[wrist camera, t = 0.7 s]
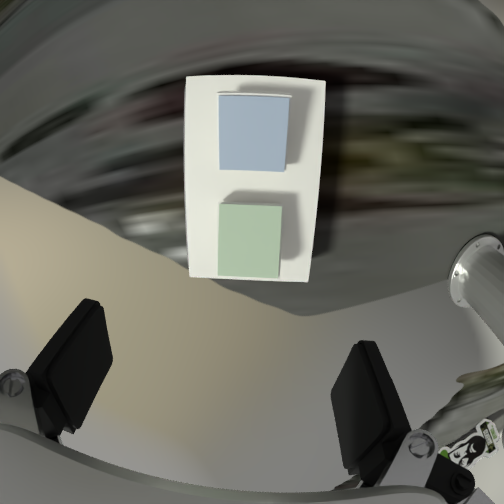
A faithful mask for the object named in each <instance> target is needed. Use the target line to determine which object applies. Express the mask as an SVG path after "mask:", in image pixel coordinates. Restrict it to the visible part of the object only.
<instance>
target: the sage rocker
mask: <svg viewBox="0 0 504 504" xmlns="http://www.w3.org/2000/svg"><path fill="white" fill-rule="evenodd" d="M283 212H284V204H272V203H249V202H218V210H217V248H216V277H236V278H258V279H280V267H281V250H282V232H283Z"/></svg>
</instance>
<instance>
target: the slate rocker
mask: <svg viewBox="0 0 504 504" xmlns="http://www.w3.org/2000/svg"><path fill="white" fill-rule="evenodd" d="M291 99H292V95H291V94H290V93H281V92H262V91H219V92H218V93H217V152H218V170H236V171H264V172H283V173H286V166H287V154H288V141H289V128H290V114H291Z"/></svg>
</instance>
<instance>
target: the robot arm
mask: <svg viewBox="0 0 504 504" xmlns="http://www.w3.org/2000/svg"><path fill="white" fill-rule="evenodd" d="M448 292H449V295H450V297H451V299H452V300H453V301H454V302H455V303H456V304H457V305H458V306H460V307H472V308H473V309H474V310H475V311H476V313H477V314H478V315H479V316H480V317H481V318H482V320H483V321H484V322H485V323H486V324H487V325H488V327H489V328H490V329H491V330H492V332H493V333H494V334H495V335H496V336H497V338H498V339H499V340H500V341H501V343H502V344H503V345H504V249H503V246H502V244H501V242H500V241H499V240H498V239H496V238H495V237H493V236H491V235H487V234H485V235H480V236H478V237H475V238H474V239H472V240H471V241H469V242H468V243H467V244H466V245H465V246H464V247H463V249H462V250H461V251H460V252H459V254H458V256H457V257H456V259H455V261H454V263H453V265H452V268H451V270H450V274H449V278H448ZM112 361H113V356H112V351H111V346H110V341H109V337H108V331H107V326H106V320H105V314H104V308H103V307H102V306H100V303H99V302H98V301H95V300H91V299H86V298H85V299H83V300H82V301H81V303H80V304H79V305H78V306H77V307H76V308H75V310H74V311H73V312H72V313H71V314H70V316H69V317H68V318H67V319H66V320H65V322H64V323H63V324H62V326H61V327H60V328H59V329H58V330H57V332H56V333H55V334H54V335H53V337H52V338H51V339H50V341H49V342H48V343H47V345H46V346H45V347H44V349H43V350H42V351H41V352H40V354H39V355H38V356H37V358H36V359H35V360H34V362H33V363H32V365H31V366H30V367H29V369H28V371H27V372H26V373H24V372H23V371H21V370H18V369H9V370H6V371H4V372H3V373H1V374H0V504H495V503H494V502H492V500H491V499H490V498H489V497H488V496H487V495H486V494H485V493H484V492H483V491H482V490H481V489H480V488H476V489H475V488H474V487H475V479H474V477H473V475H472V473H471V472H470V471H469V470H468V469H466V468H464V467H462V466H461V465H459V464H457V463H455V462H453V461H451V460H450V459H448V458H446V457H444V456H442V455H441V454H439V453H438V443H437V441H436V438H435V437H434V436H433V435H432V434H431V433H429V432H428V431H425V430H422V429H416V430H413V431H412V430H411V428H410V425H409V422H408V419H407V417H406V414H405V411H404V408H403V406H402V403H401V401H400V398H399V396H398V393H397V391H396V388H395V386H394V383H393V381H392V379H391V377H390V375H389V372H388V370H387V368H386V365H385V363H384V361H383V358H382V356H381V353H380V352H379V349H378V347H377V344H376V343H375V342H374V341H363V340H361V341H359V342H358V343H357V344H354V345H353V347H352V349H351V352H350V354H349V356H348V358H347V360H346V362H345V364H344V366H343V368H342V370H341V372H340V374H339V376H338V378H337V380H336V382H335V384H334V386H333V388H332V390H331V401H332V406H333V411H334V416H335V421H336V427H337V432H338V438H339V443H340V448H341V455H342V461H343V466H344V468H345V469H348V474H349V475H355V474H360V477H361V482H360V483H359V485H358V486H357V488H356V489H350V490H339V491H325V492H303V493H302V492H301V493H275V492H274V493H273V492H253V491H239V490H229V489H219V488H213V487H206V486H199V485H193V484H188V483H182V482H177V481H172V480H168V479H163V478H159V477H155V476H150V475H147V474H143V473H139V472H136V471H132V470H129V469H126V468H123V467H119V466H116V465H113V464H110V463H107V462H104V461H102V460H99V459H96V458H93V457H90V456H88V455H86V454H83V453H80V452H78V451H75V450H73V449H71V448H68V447H66V446H64V445H63V444H62V440H61V437H60V434H61V432H62V430H64V431H67V432H69V433H71V434H74V432H75V430H76V429H79V428H80V427H81V426H82V423H83V421H84V419H85V417H86V415H87V413H88V411H89V408H90V407H91V405H92V403H93V400H94V398H95V396H96V394H97V392H98V390H99V388H100V386H101V384H102V382H103V380H104V378H105V376H106V375H107V373H108V371H109V369H110V367H111V365H112ZM502 443H503V447H504V428H503V432H502Z"/></svg>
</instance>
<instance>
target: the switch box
mask: <svg viewBox="0 0 504 504" xmlns="http://www.w3.org/2000/svg"><path fill="white" fill-rule="evenodd" d="M325 87H326V81H320V80H312V79H302V78H291V77H278V76H257V75H211V76H190V77H186V87H185V100H184V193H185V221H186V241H187V258H188V267H189V274H190V277H201V278H220V279H241V280H264V281H291V282H308V278H309V271H310V264H311V256H312V248H313V240H314V231H315V222H316V213H317V203H318V193H319V182H320V171H321V158H322V144H323V129H324V111H325ZM219 91H262V92H281V93H290V94H291V95H292V99H291V114H290V128H289V141H288V154H287V166H286V173H283V172H264V171H236V170H218V152H217V93H218V92H219ZM218 202H249V203H272V204H284V212H283V232H282V250H281V267H280V279H258V278H236V277H216V248H217V210H218Z"/></svg>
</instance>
